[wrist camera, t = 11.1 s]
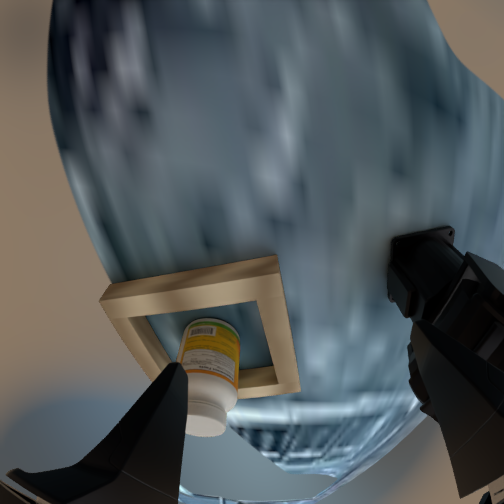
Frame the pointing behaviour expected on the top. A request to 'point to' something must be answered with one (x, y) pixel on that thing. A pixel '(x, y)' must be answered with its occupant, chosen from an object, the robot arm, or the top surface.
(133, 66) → the top surface
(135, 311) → the tan square frame
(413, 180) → the top surface
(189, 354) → the supplement bottle
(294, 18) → the top surface
